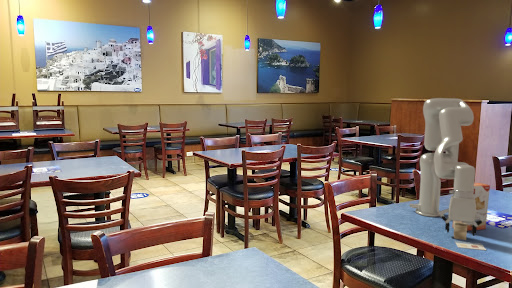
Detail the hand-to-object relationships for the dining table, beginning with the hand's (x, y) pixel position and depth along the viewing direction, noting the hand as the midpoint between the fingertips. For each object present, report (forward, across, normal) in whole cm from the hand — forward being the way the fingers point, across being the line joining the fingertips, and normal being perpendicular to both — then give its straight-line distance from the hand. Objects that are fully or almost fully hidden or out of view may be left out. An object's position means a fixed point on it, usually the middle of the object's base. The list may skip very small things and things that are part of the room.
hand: (460, 233), depth 165 cm
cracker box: (+2, +5, +15) cm, 16 cm away
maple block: (+2, 0, 0) cm, 2 cm away
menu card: (+2, +3, -9) cm, 10 cm away
